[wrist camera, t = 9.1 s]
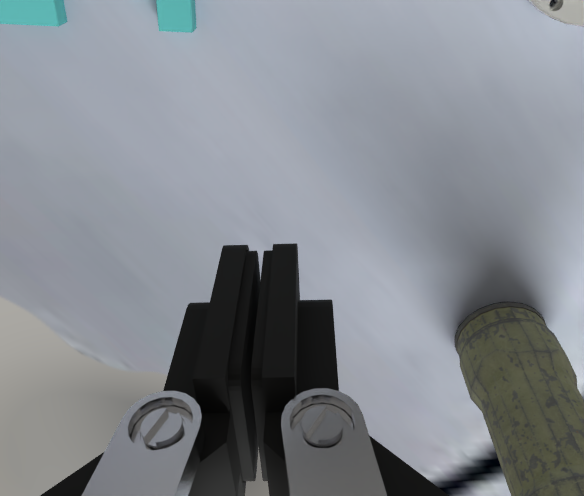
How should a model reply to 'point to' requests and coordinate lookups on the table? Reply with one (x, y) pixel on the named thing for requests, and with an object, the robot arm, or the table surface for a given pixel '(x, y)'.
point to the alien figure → (51, 12)
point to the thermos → (525, 398)
